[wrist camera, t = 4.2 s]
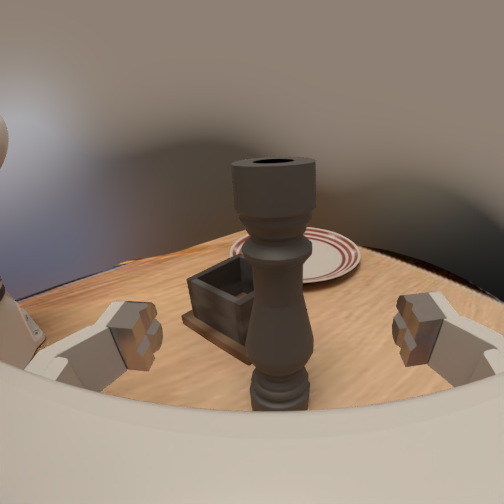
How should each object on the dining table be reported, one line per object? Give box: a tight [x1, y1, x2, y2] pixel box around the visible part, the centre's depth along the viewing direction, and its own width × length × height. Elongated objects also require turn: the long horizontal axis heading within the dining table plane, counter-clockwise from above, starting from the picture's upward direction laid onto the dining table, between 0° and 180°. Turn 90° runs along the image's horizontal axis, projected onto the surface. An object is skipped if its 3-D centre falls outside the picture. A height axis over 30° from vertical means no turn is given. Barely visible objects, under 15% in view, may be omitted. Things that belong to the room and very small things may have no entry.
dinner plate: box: [230, 227, 361, 283], centre depth 62 cm, size 28×27×3 cm
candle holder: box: [231, 157, 316, 411], centre depth 24 cm, size 6×6×25 cm
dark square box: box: [182, 253, 254, 365], centre depth 42 cm, size 14×13×8 cm
